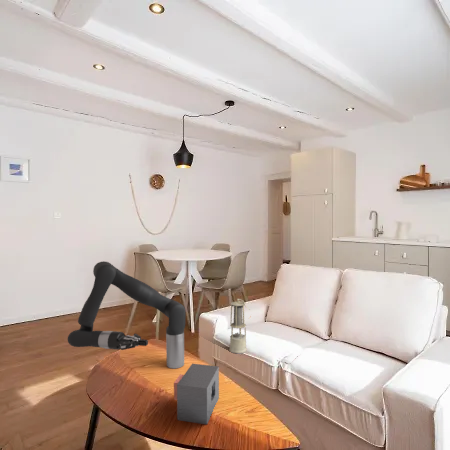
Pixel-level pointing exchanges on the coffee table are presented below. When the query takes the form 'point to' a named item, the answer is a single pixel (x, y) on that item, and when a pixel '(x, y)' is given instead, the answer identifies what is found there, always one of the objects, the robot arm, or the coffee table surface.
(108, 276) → the robot arm
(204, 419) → the block
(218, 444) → the coffee table surface
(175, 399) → the plug
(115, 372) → the coffee table surface
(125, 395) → the coffee table surface
